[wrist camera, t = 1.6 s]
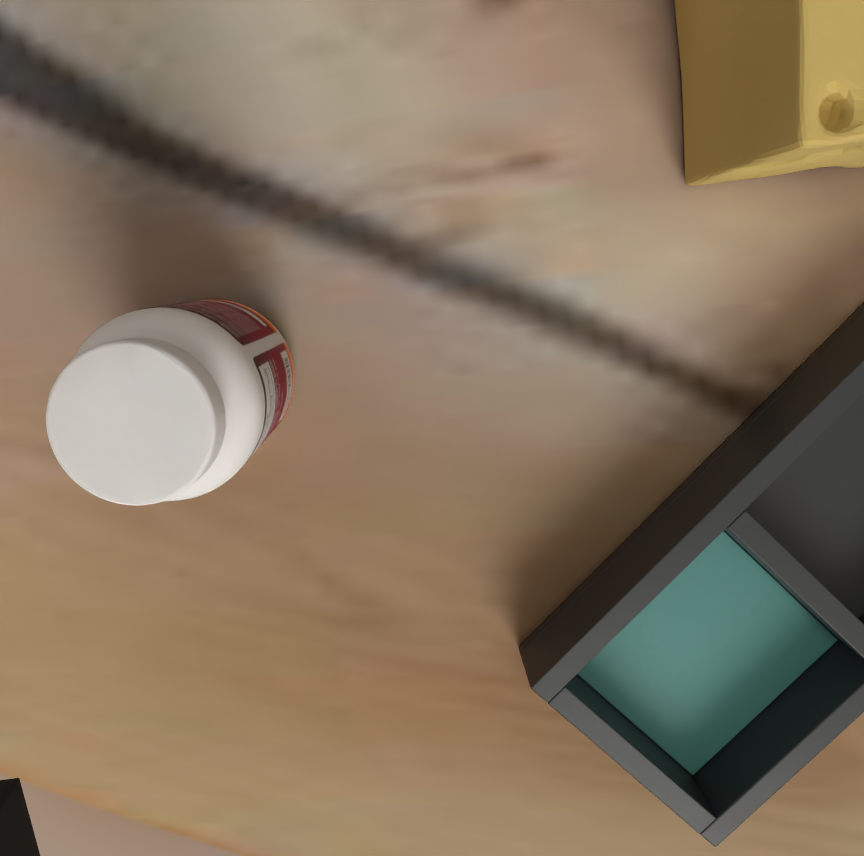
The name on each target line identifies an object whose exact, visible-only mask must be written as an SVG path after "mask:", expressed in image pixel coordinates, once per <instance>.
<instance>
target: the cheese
mask: <svg viewBox="0 0 864 856" xmlns="http://www.w3.org/2000/svg"><path fill="white" fill-rule="evenodd" d="M674 1H675V11H676V22H677V32H678V43H679V53H680V64H681V76H682V97H683V120H684V157H685V181H686V184H688V185H690V186H697V185H705V184H713V183H721V182H729V181H736V180H744V179H752V178H759V177H767V176H774V175H780V174H787V173H792V172H797V171H803V170H808V169H813V168H820V167H830V166H841V167H844V168H856V167H864V0H674Z"/></svg>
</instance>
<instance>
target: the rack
mask: <svg viewBox="0 0 864 856" xmlns="http://www.w3.org/2000/svg"><path fill="white" fill-rule="evenodd" d="M519 651H520V654H521V657H522V661H523V664H524V667H525V671H526V674H527V677H528V681H529V684H530V687H531V689H532V690H533V691H534V692H536V693H537V694H538V695H539V696H540V697H541V698H543V699H544V700H545V701H546V702H548V704H549V705H551V706H552V707H553V708H554V709H555V710H556V711H557V712H559V713H560V714H561V715H562V716H563V717H564V718H566V719H567V720H568V721H569V722H570V723H571V724H573V725H574V726H575V727H576V728H577V729H578V730H580V731H581V732H582V733H583V734H584V735H585V736H586V737H588V738H589V739H590V740H591V741H592V742H593V743H595V744H596V745H597V746H598V747H599V748H600V749H602V750H603V751H604V752H605V753H606V754H607V755H609V756H610V757H611V758H612V759H613V760H614V761H615V762H617V763H618V764H619V765H620V766H621V767H622V768H624V769H625V770H626V771H627V772H628V773H629V774H631V775H632V776H633V777H634V778H635V779H636V780H638V781H639V782H640V783H641V784H642V785H643V786H644V787H646V788H647V789H648V790H649V791H650V792H651V793H653V794H654V795H655V796H656V797H657V798H658V799H660V800H661V801H662V802H663V803H664V804H665V805H667V806H668V807H669V808H670V809H671V810H672V811H673V812H675V813H676V814H677V815H678V816H679V817H680V818H682V819H683V820H684V821H685V822H686V823H687V824H689V825H690V826H691V827H692V828H693V829H694V830H696V831H697V832H698V833H699V834H701V835H702V836H703V837H704V838H705V839H706V840H707V841H709V842H710V843H711V844H712V845H713V846H715V847H716V846H718V845H719V844H720V843H721V842H722V841H723V840H724V839H725V838H726V837H727V836H728V835H730V834H731V833H732V832H733V831H734V830H735V829H736V828H737V827H738V826H739V825H740V824H742V823H743V822H744V821H745V820H746V819H747V818H748V817H749V816H750V815H751V814H753V813H754V812H755V811H756V810H757V809H758V808H759V807H760V806H761V805H762V804H763V803H765V802H766V801H767V800H768V799H769V798H770V797H771V796H772V795H773V794H774V793H776V792H777V791H778V790H779V789H780V788H781V787H782V786H783V785H784V784H785V783H786V782H788V781H789V780H790V779H791V778H792V777H793V776H794V775H795V774H796V773H797V772H798V771H800V770H801V769H802V768H803V767H804V766H805V765H806V764H807V763H808V762H809V761H811V760H812V759H813V758H814V757H815V756H816V755H817V754H818V753H819V752H820V751H821V750H823V749H824V748H825V747H826V746H827V745H828V744H829V743H830V742H831V741H832V740H833V739H835V738H836V737H837V736H838V735H839V734H840V733H841V732H842V731H843V730H844V729H846V728H847V727H848V726H849V725H850V724H851V723H852V722H853V721H854V720H855V719H856V718H858V717H859V716H860V715H861V714H862V713H863V712H864V303H863V304H862V305H861V306H860V307H859V308H858V309H857V310H856V311H855V312H854V313H853V314H852V315H851V316H850V317H849V318H848V319H847V320H846V321H845V322H844V323H843V324H842V325H841V326H840V327H839V328H838V329H837V330H836V331H835V332H834V333H833V334H832V335H831V336H830V337H829V338H828V339H827V340H826V341H825V342H824V343H823V344H822V345H821V346H820V347H819V348H818V349H817V350H816V351H815V352H814V353H813V354H812V355H811V356H810V357H809V358H808V359H807V360H806V361H805V362H804V363H803V364H802V365H801V366H800V367H799V368H798V369H797V370H796V371H795V372H794V373H793V374H792V375H791V376H790V377H789V378H788V379H787V380H786V381H785V382H784V383H783V384H782V385H781V386H780V387H779V388H778V389H777V390H776V391H775V392H774V393H773V394H772V395H771V396H770V397H769V398H768V399H767V400H766V401H765V402H764V403H763V404H762V405H761V406H760V407H759V408H758V409H757V410H756V411H755V412H754V413H753V414H752V415H751V416H750V417H749V418H748V419H747V420H746V421H745V422H744V423H743V424H742V425H741V426H740V427H739V428H738V429H737V430H736V431H735V432H734V433H733V434H732V435H731V436H730V437H729V438H728V439H727V440H726V441H725V442H724V443H723V444H722V445H721V446H720V447H719V448H718V449H717V450H716V451H715V452H714V453H713V454H712V455H711V456H710V457H709V458H708V459H707V460H706V461H705V462H704V463H703V464H702V465H701V466H700V467H699V468H698V469H697V470H696V471H695V472H694V473H693V474H692V475H691V476H690V477H689V478H688V479H687V480H686V481H685V482H684V483H683V484H682V485H681V486H680V487H679V488H678V489H677V490H676V491H675V492H674V493H673V494H672V495H671V496H670V497H669V498H668V499H667V500H666V501H665V502H664V503H663V504H662V505H661V506H660V507H659V508H658V509H657V510H656V511H655V512H654V513H653V514H652V515H651V516H650V517H649V518H648V519H647V520H646V521H645V522H644V523H643V524H642V525H641V526H640V527H639V528H637V529H636V530H635V531H634V532H633V533H632V534H631V535H630V536H629V537H628V538H627V539H626V540H625V541H624V542H623V543H622V544H621V545H620V546H619V547H618V548H617V549H616V550H615V551H614V552H613V553H612V554H611V555H610V556H609V557H608V558H607V559H606V560H605V561H604V562H603V563H602V564H601V565H600V566H599V567H598V568H597V569H596V570H595V571H594V572H593V573H592V574H591V575H590V576H589V577H588V578H587V579H586V580H585V581H584V582H583V583H582V584H581V585H580V586H579V587H578V588H577V589H576V590H575V591H574V592H573V593H572V594H571V595H570V596H569V597H568V598H567V599H566V600H565V601H564V602H563V603H562V604H561V605H560V606H559V607H558V608H557V609H556V610H555V611H554V612H553V613H552V614H551V615H550V616H549V617H548V618H547V619H546V620H545V621H544V622H543V623H542V624H541V625H540V626H539V627H538V628H537V629H536V630H535V631H534V632H533V633H532V634H531V635H530V636H529V637H528V638H527V639H526V640H525V641H524V642H523V643H522V644H521V645H520V646H519Z"/></svg>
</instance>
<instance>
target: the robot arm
mask: <svg viewBox="0 0 864 856" xmlns="http://www.w3.org/2000/svg"><path fill="white" fill-rule="evenodd" d="M0 856H40V854H39V850H38V846H37V842H36V839H35V835H34V831H33V828H32V824H31V820H30V816H29V813H28V810H27V806H26V802H25V798H24V794H23V791H22V787H21V783H20V779H19V778H15V779H7V780H0Z"/></svg>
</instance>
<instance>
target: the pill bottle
mask: <svg viewBox="0 0 864 856" xmlns="http://www.w3.org/2000/svg"><path fill="white" fill-rule="evenodd" d="M294 382H295V374H294V364H293V360H292V356H291V353H290V351H289V348H288V346H287V344H286V342H285V340H284V338H283V337H282V335H281V334H280V332H279V331H278V330H277V328H276V327H275V326H274V325H273V324H272V323H271V322H270V321H269V320H268V319H266V318H265V317H264V316H262V315H261V314H259V313H258V312H256V311H255V310H253V309H251V308H249V307H247V306H245V305H242V304H240V303H237V302H233V301H228V300H220V299H203V300H197V301H192V302H185V303H179V304H173V305H167V306H160V307H153V308H146V309H141V310H137V311H132V312H129V313H126V314H123V315H121V316H118V317H116V318H114V319H112V320H110V321H108V322H107V323H105V324H104V325H102V326H101V327H99V328H98V329H97V330H96V331H94V332H93V333H92V334H91V335H90V336H89V337H88V338H87V339H86V340H85V341H84V343H83V344H82V345H81V346H80V348H79V349H78V350H77V352H76V354H75V355H74V357H73V359H72V361H71V362H69V364H68V365H67V366H66V367H65V368H64V369H63V370H62V372H61V373H60V374H59V376H58V377H57V379H56V381H55V383H54V385H53V387H52V389H51V392H50V394H49V398H48V402H47V409H46V427H47V434H48V438H49V442H50V445H51V448H52V450H53V452H54V454H55V456H56V458H57V460H58V462H59V463H60V465H61V466H62V468H63V469H64V470H65V472H66V473H67V474H68V475H69V476H70V477H71V478H72V479H73V480H74V481H75V482H76V483H77V484H78V485H80V486H81V487H82V488H84V489H85V490H87V491H88V492H90V493H92V494H94V495H95V496H97V497H99V498H102V499H105V500H107V501H110V502H114V503H118V504H124V505H149V504H155V503H159V502H162V501H176V500H185V499H189V498H194V497H197V496H200V495H203V494H205V493H208V492H210V491H212V490H214V489H216V488H217V487H219V486H221V485H222V484H224V483H225V482H227V481H228V480H229V479H230V478H231V477H233V476H234V475H235V474H236V473H237V472H238V471H239V470H240V469H241V468H242V467H243V465H244V464H245V463H246V462H247V461H248V460H249V458H250V457H251V456H252V455H253V454H254V452H255V451H256V450H257V449H258V448H259V446H260V445H261V444H262V443H263V442H264V441H265V439H266V438H267V437H268V436H269V435H270V433H271V432H272V431H273V430H274V429H275V428H276V427H277V425H278V424H279V423H280V421H281V420H282V418H283V417H284V415H285V413H286V411H287V409H288V407H289V404H290V401H291V399H292V395H293V390H294Z"/></svg>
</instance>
